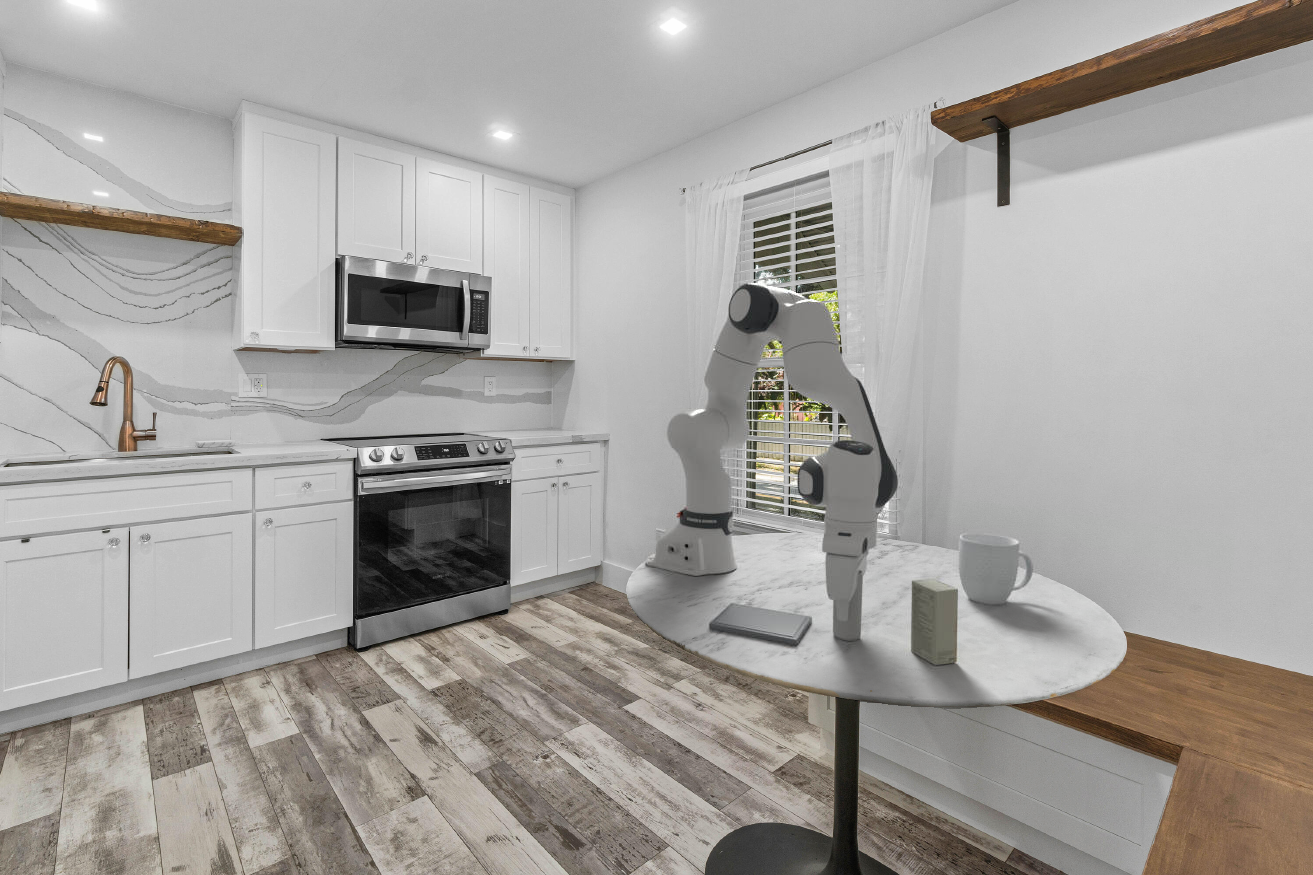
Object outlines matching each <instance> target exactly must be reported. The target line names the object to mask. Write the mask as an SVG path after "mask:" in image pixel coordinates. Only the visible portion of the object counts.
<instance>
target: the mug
mask: <svg viewBox="0 0 1313 875" xmlns="http://www.w3.org/2000/svg"><path fill="white" fill-rule="evenodd" d="M1020 557H1022V558H1023V559H1024V562H1025V572H1024V576H1023V577H1022V579H1021V580H1020V581H1019V582H1018V583H1016V581H1017V576H1018V570H1019V564H1020V563H1019V561H1020V560H1019V559H1020ZM958 574H959V580H960V583H961V586H962V589H963V591H964V592H965V594H966V597H968V599H970V600H971V601H972V602H975V603H978V604H981V605H989V606H991V605H992V606H1000V605H1003V604H1004V603H1005V602H1006V601H1007V600H1008V599H1009V597H1010V596H1011V595H1012V594H1011V593H1012V592H1013V591H1017V590H1021V589H1023V588H1025V586H1027V585H1028V584H1029V582H1030V580H1031V579H1032V576H1033V574H1034V564H1033V561H1032V559H1031V557H1030V556H1029V555H1028V554H1027V553H1025V552H1023V551H1022V550H1020V542H1019V540H1017V539H1015V538H1013V537H1009V536H1005V535H999V534H992V533H985V532H981V533H980V532H971V533H969V532H968V533H963V534H960V535H959V542H958Z"/></svg>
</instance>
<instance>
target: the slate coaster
mask: <svg viewBox="0 0 1313 875" xmlns="http://www.w3.org/2000/svg"><path fill="white" fill-rule="evenodd" d="M812 619H813V617H812V616H811V615H810V616H809V615H803V614H798V613H791V612H785V611H780V610H775V609H774V610H773V609H769V608H761V607H757V606H750V605H746V604H745V605H744V604H740V603H732V602H731V603H730V604H728V605H727V606H726V607H725V608H724V609H723V610H722V611H721V612H720V613H719V614H718V615H717V616H715V617H714V618H713V619H712V620H711V621H710V622H709V623H708V625H709V626H708V628H709V630H715V631H719V632H725V633H731V634H735V635H736V634H737V635H741V636H746V637H750V638H751V637H752V638H757V639H761V640H766V641H767V640H768V641H770V642H771V641H772V642H778V643H782V644H788V645H792V646H797V645H798V644H799V642H800V641H801V639H802V637H803V636H804V634H805V632H806V631H807V630H808V628H809V627H810V625H811V623H812V621H813V620H812Z"/></svg>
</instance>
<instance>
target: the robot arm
mask: <svg viewBox="0 0 1313 875" xmlns="http://www.w3.org/2000/svg"><path fill="white" fill-rule="evenodd" d="M727 312H728V318H727V319H726V321H725V323H724V324H723V327H722V329H721V332H720V333H719V336H718V338H717V340H716V343H715V345H714V348H713V351H712V354H711V357H710V360H709V362H708V366H707V369H706V371H705V375H704V376H703V377H704V379H703V380H704V386H705V387H706V388H707V390H708V391H707V392H708V393H707V394H708V397H707V398H708V399H707V404H706V406H705V408H697V409H696V408H695V409H694V408H693V409H692V408H691V409H688V410H684V411H683V412H680V413H677V414H676V415H674V416H673V417H672V418H671V419H670V421H669V422H668V425H667V429H666V430H667V431H666V434H667V440H668V441H667V442H668V443H669V445H670V447H671V448H672V449H673V451H675V452H676V454H677V455H678V456H679V459H680V461H681V464H682V467H683V470H684V475H685V492H686V494H685V495H686V499H685V501H686V502H685V503H686V507H684V508H683V509H682V510H679V512H677V513H676V518H677V519H679V522H678V523H677V524H675V525H674V526H673V527H672V528H670V529H669V530H668V531H667V532H665V533H664V534H663V535H661V536H660V537H659V538H658V540H657V543H656V546H655V547H656V548H655V552H654V553H652V554H650V555H649V556H648V557H647V558H646V562H648V563H647V564H646V565H647V566H649V567H654V568H658V569H663V570H667V571H670V572H676V573H680V574H684V575H689V576H695V577H696V576H703V575H715V574H725V573H729V572H732V571H734V570H735V569H737V567H738V564H737V562H736V558H735V552H734V546H733V535H732V534H733V529H734V513H733V512H734V511H733V509H732V479H731V476H730V475H729V474H728V473H727V472H726V470H725V468H724V466H723V462H722V458H721V453H727V452H731V451H733V450H735V449H737V448H739V447H740V446H742V445H743V444H745V443H746V442H747V440H748V439H749V436H750V430H751V429H750V424H749V421H748V419H747V404H748V398H749V393H750V391H751V387H752V383H753V382H754V379H755V376H756V372H757V370H758V368H759V364H760V362H761V358H762V356H763V352H764V350H765V348H766V346H767V345H768V344H769V343H771V342H773V341H775V342H777V341H778V344H780V345H781V348H782V349H781V350H782V358H783V368H784V373H785V376H786V379H787V382H788V384H789V385H790V386H791V388H793V390H794V391H795V392H797V393H798V394H799V395H801V396H803V397H805V398H807V399H809V400H812V401H815V402H818V403H820V404H823V405H825V406H828V407H830V408H832V409H834V410H835V411H836V412H838V413H839V414H840V415H841V416H842V417H843V418H844V420H845V423H846V425H847V428H848V431H849V434H850V438H851V440H848V439H847V440H845V439H841V440H837V441H834V442H832V443H831V444H830V445H829V447H828V448H827V449H828V450H826V451H825V452H823V453H821V454H818V455H816V456H815V455H814V456H812V457H811V456H810V457H808V458H806V459H805V460H804V462H802V464H801V465H800V466H799V469H797V470H798V471H797V480H796V481H797V482H796V483H797V491H798V492H797V493H798V494H799V495H800V496H801V498H802V500H804V501H805V502H806V503H808V504H809V505H811V506H814V507H816V506H817V507H825V511H824V512H825V514H824V524H823V525H824V527H823V538H822V544H821V551H822V552H823V553H825V584H826V594H827V596H828V599H829V600H831V601H833V600H835V602H836V607H837V619H838V620H840V621H847V620H848V618H849V602H850V601H851V598H852V597H853V595H854V593H855V591H856V589H857V587H858V574H859V572H860V570H861V571H862V575H863V577H864V576H865V575H866V574H865V573H867V567H868V566H867V565H868V563H867V562H868V555H869V550H871V549H874V548H875V547H877V540H878V539H877V534H878V532H877V531H878V514H877V510H876V509H878V508H883V506H885V505H886V504H887V503H888V502H889V501H891V500H892V498H893V497H894V495H895V494H896V492H897V489H898V484H899V481H898V480H899V479H898V478H899V477H898V474H897V471H896V469H895V466H894V464H893V462H892V460H891V459H890V457H889V455H888V452H887V450H886V448H885V444H884V443H883V440H882V436H881V433H880V430H879V426H878V424H877V421H876V418H875V415H874V412H873V409H872V407H871V403H870V400H869V398H868V395H867V393H866V390H865V388H864V386H863V383H862V382H861V381H860V379H859V378H857V377H856V376H854V375H853V374H852V373H851V371H849V369H848V366H846V364H845V362H844V360H843V358H842V354H841V351H840V350H841V349H840V345H839V340H838V339H839V338H838V334H837V331H836V327H835V324H834V320H833V318H832V315H831V314H830V310H829V309H828V307H827V306H826V305H825V304H824V303H822V302H820V301H819V300H814V299H812V298H811V297H808V296H805V295H801V294H799V293H796V292H794V291H792V290H788V289H786V288H779V287H774V286H768V285H765V284H763V283H755V282H751V283H748V282H747V283H744V284H742V285H740V286H739V287H738V288H736V290H735V291H734V293H733V294H732V295H731V298H730V300H729V302H728V311H727ZM652 559H653V560H652ZM646 562H645V563H646Z"/></svg>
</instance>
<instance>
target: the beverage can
mask: <svg viewBox="0 0 1313 875" xmlns="http://www.w3.org/2000/svg"><path fill="white" fill-rule="evenodd" d="M863 578H864V576H863V575H862V571H861V570H860V572H859V574H858V587H857V589H856V591H855V593H854V595H853V597H852V598H851V601H850V602H849V618H848V620H847V621H840V620H838V619H837V607H836V602H835V600H832V601H833V603H832V609H833V610H832V633H833V635H834V636H835V638H836V639H838V640H841V641H845V642H847V641H848V642H853V641H857V640H858V639H859V638H861V635H862V613H863V610H862V609H863V608H862V606H863V586H864V585H863V582H864V581H863V580H864V579H863Z"/></svg>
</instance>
